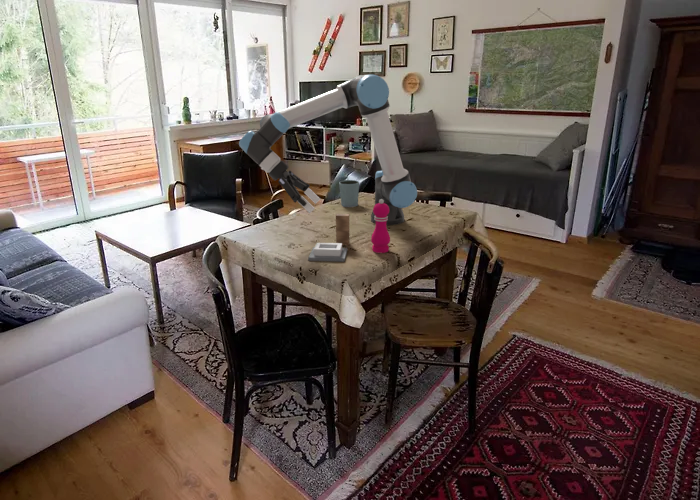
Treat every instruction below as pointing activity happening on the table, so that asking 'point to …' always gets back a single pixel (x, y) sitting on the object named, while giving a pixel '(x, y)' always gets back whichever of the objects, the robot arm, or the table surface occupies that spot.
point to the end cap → (328, 252)
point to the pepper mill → (380, 228)
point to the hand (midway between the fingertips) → (315, 206)
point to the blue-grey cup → (349, 193)
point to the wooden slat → (342, 229)
